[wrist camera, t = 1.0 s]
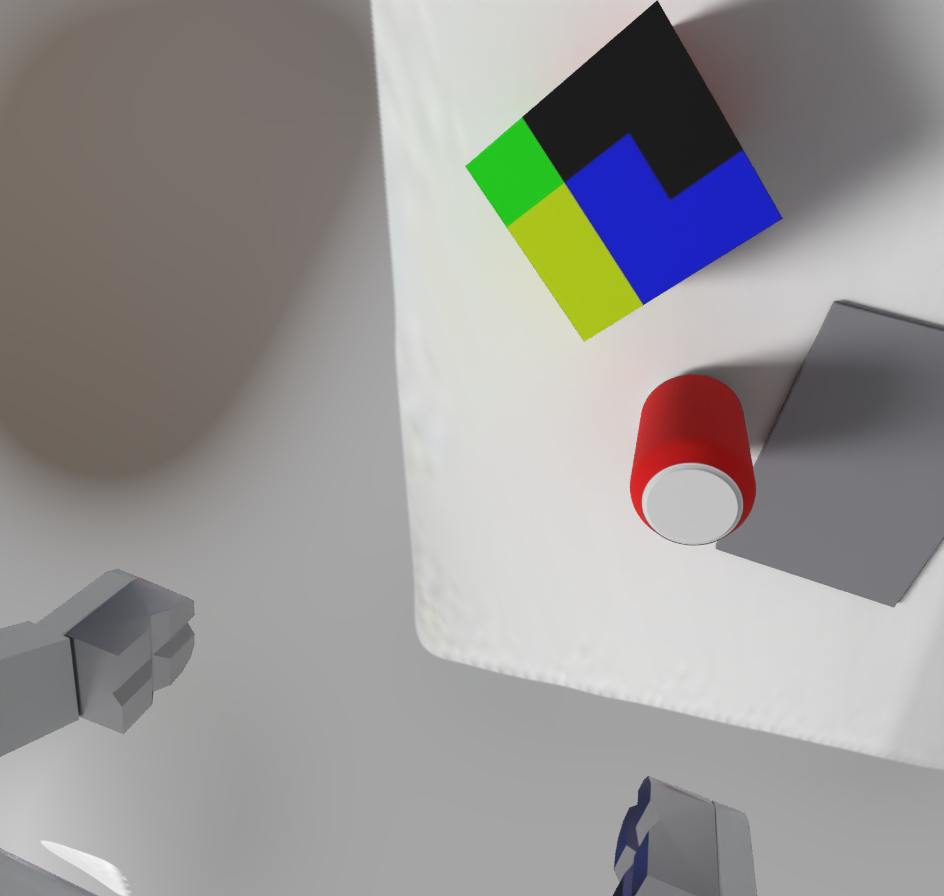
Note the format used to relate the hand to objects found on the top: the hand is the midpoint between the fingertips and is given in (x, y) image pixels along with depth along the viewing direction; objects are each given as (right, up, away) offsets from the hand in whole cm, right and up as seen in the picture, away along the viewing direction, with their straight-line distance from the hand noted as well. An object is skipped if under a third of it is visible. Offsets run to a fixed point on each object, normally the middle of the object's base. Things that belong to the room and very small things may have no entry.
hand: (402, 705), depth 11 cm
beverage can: (+16, +7, +32) cm, 36 cm away
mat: (+26, +3, +30) cm, 40 cm away
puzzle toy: (+11, +20, +27) cm, 35 cm away
